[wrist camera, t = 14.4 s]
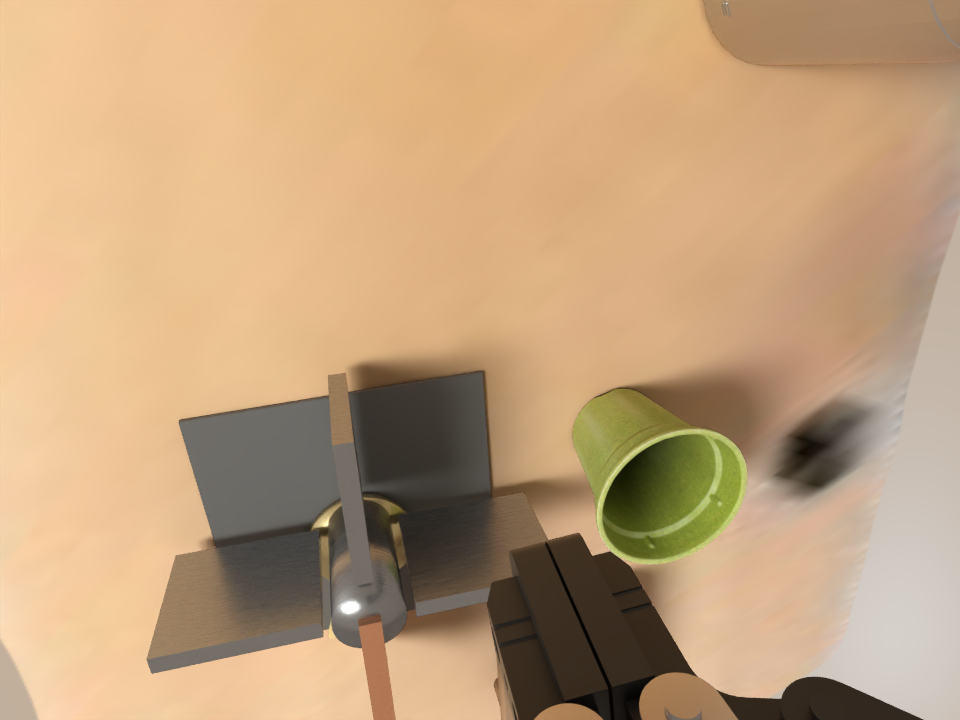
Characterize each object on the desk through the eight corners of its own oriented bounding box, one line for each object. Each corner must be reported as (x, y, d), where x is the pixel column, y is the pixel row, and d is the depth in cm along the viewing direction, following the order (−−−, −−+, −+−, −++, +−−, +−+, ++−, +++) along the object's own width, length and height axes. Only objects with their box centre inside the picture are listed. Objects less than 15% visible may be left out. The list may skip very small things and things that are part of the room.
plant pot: (636, 495, 48) (699, 576, 40) (526, 469, 45) (571, 551, 37) (696, 386, 45) (776, 450, 37) (584, 349, 42) (645, 411, 34)
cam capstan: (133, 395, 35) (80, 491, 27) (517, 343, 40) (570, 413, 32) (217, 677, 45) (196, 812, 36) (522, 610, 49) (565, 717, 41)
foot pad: (481, 370, 41) (484, 375, 40) (497, 593, 48) (499, 600, 48) (179, 419, 37) (177, 426, 37) (248, 650, 45) (247, 659, 44)
